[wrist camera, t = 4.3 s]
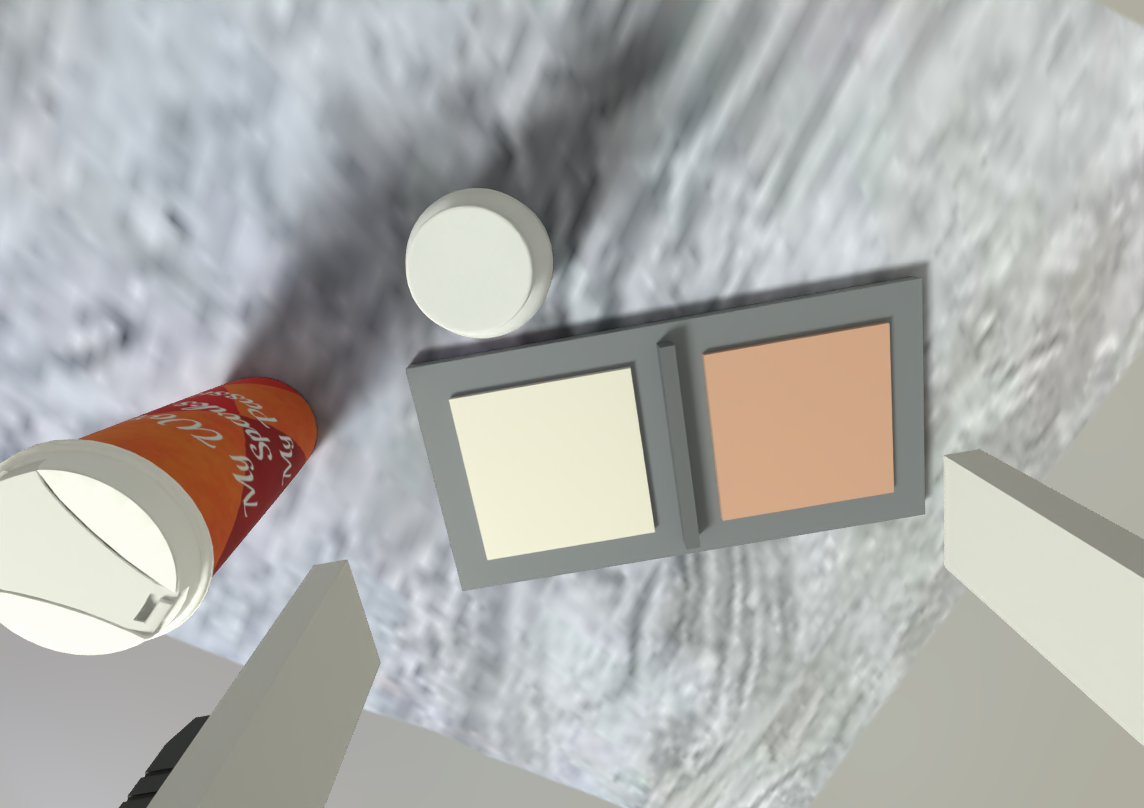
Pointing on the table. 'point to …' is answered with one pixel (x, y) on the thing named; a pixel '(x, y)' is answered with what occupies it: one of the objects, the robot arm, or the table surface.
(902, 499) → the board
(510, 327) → the pill bottle
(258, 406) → the coffee cup
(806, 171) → the table surface
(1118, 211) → the table surface
